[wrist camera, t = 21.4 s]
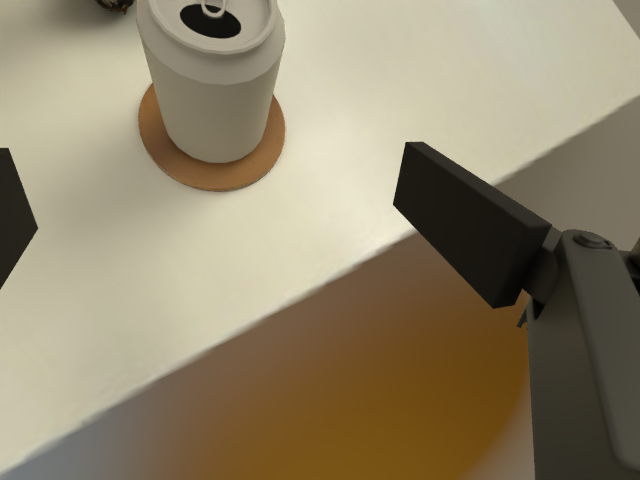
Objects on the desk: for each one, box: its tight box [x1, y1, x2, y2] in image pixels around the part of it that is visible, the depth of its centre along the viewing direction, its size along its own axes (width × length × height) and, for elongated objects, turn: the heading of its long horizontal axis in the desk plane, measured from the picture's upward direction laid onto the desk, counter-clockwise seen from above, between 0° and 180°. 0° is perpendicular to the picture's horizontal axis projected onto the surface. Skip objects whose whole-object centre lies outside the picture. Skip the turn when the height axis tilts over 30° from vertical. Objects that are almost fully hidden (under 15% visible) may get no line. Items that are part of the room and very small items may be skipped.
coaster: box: [139, 83, 285, 191], centre depth 30 cm, size 11×11×1 cm
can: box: [136, 0, 285, 163], centre depth 24 cm, size 8×8×12 cm
